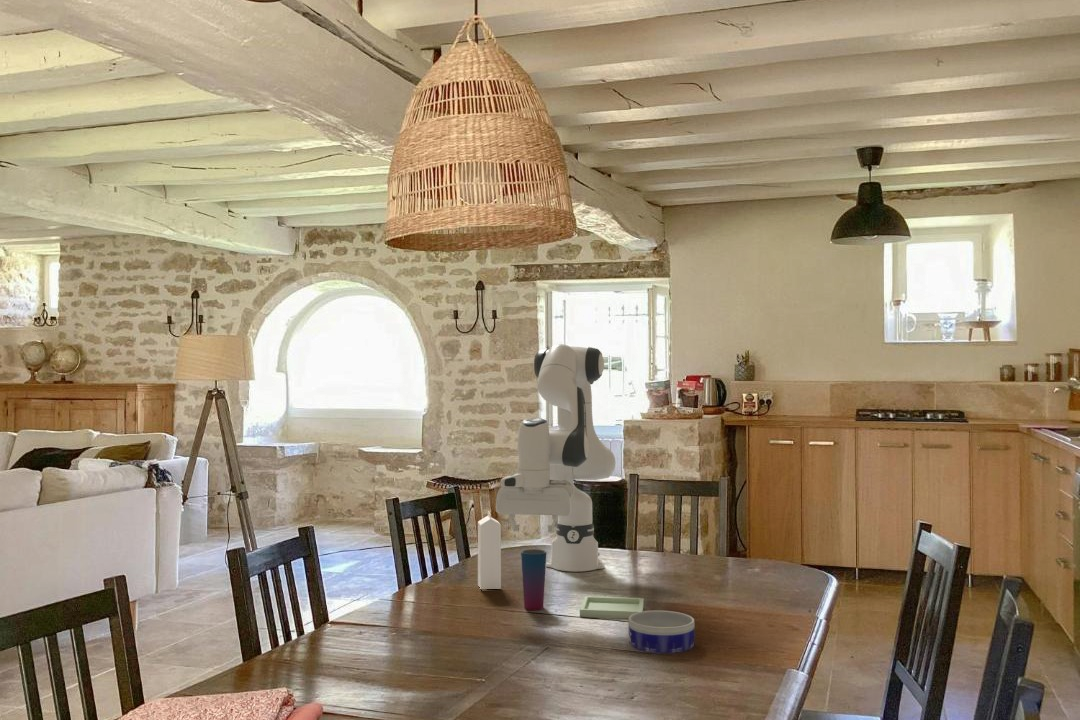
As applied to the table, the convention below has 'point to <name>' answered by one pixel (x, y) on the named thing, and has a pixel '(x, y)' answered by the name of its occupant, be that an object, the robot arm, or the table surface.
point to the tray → (610, 607)
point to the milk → (489, 553)
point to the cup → (533, 577)
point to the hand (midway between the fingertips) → (533, 531)
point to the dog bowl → (661, 631)
